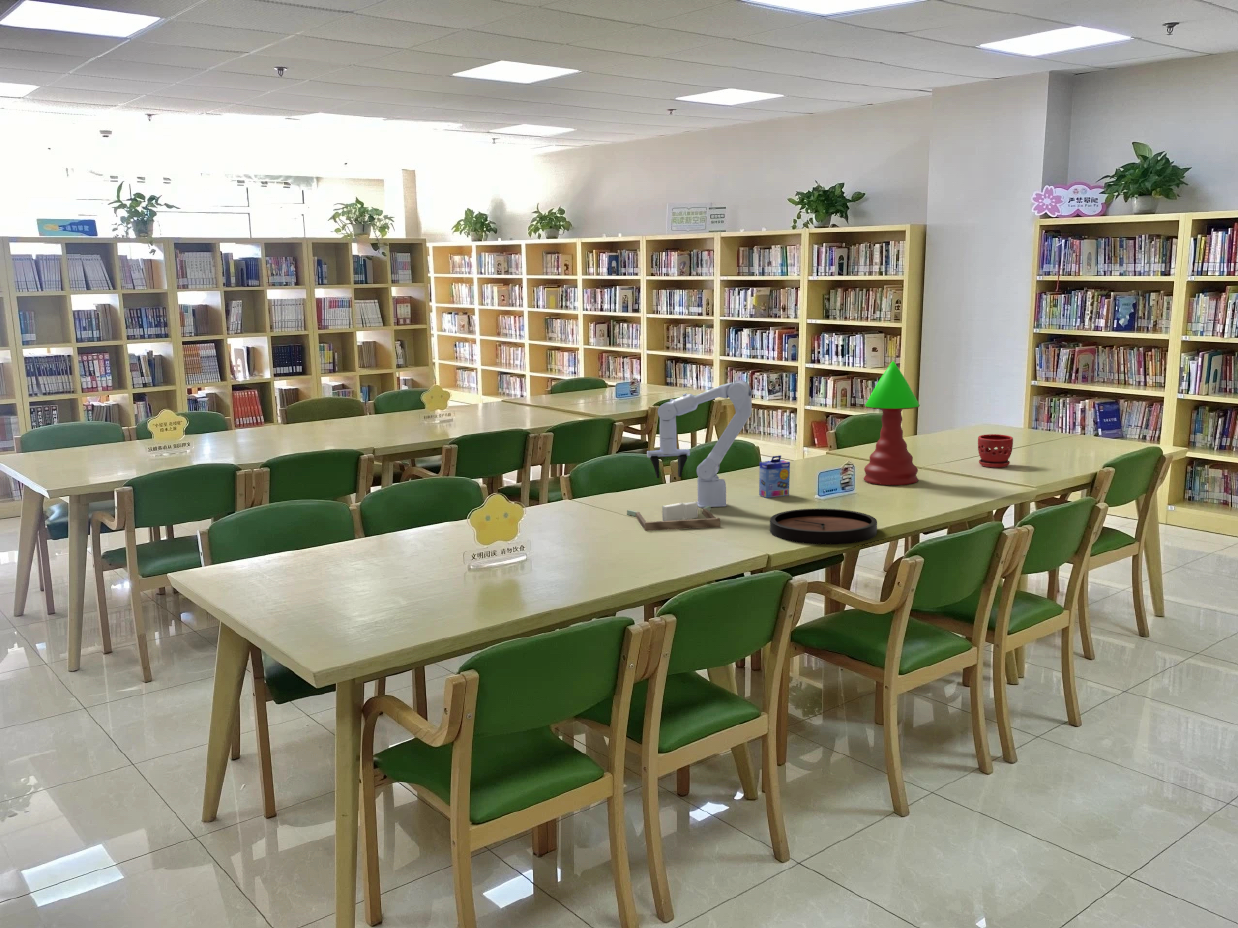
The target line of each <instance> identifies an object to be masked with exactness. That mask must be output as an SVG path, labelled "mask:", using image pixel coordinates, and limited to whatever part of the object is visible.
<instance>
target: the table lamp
mask: <svg viewBox="0 0 1238 928" xmlns="http://www.w3.org/2000/svg"><path fill="white" fill-rule="evenodd" d="M919 407H920V402H919V401H918V399H917V398H916V396H915V394H914V392H913V391H912V388H911V387H910V385H909V383H908V380H907V379H906V377H905V376H904V375H903V373H902V372H901V370H900V368H899V367H898V366H897V364H896V362H895V361H894V360H892V361H891V362H890V364H889V365H888V366H887V368H886V370H885V371H884V372H883V373H882V375H881V377H880V378H879V380H878V381H877V384H876V385H875V387H874V388H873V390H872V392H871V394H870V395H869V397H868V399H867V400H866V403H865V404H864V408H867V409H872V410H873V409H874V410H881V411H882V414H881V415H882V416H881V419H880V420H881V425H882V427H881V429H880V431H879V432H880V437H879V439H878V440H877V441H876V443H875V449H874V451H873V452H872V453H871V454H870V455H869V462H868V463H867V465H865V466H864V468H863V471H864V473H865V475H864V477H863V481H865V483H869V484H874V485H880V486H883V485H884V486H905V485H906V486H907V485H912V484H915V483H918V481H919V478H918V476H917V474H918V471H919V470H918V468H917V467H918V466H916V464H914V462H913V460H914V457H913V456H912V454H911V453H910V452H909V450H908V444H907V442H906V441H905V439H904V437H903V436H904V431H903V428H902V422H903V415H902V412H903V410H912V409H917V408H919Z"/></svg>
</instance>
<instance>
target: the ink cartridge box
mask: <svg viewBox="0 0 1238 928" xmlns="http://www.w3.org/2000/svg"><path fill="white" fill-rule="evenodd" d="M781 458H782V455H773V456H772V457H771V460H765V461H759V471H758V472H759V475H758V476H759V478H758V479H759V484H758V485H759V490H758V491H759V492H758V493H759V494H758V495H759V496H760V497H763V498H765V499H769V498H771V499H772V498H778V497H786V496H790V472H791V462H790V461H788V460H783V459H781Z"/></svg>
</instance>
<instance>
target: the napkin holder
mask: <svg viewBox="0 0 1238 928" xmlns="http://www.w3.org/2000/svg"><path fill="white" fill-rule="evenodd" d="M696 502H697V501H690V502H678V503H671V504H667V505H662V506H661V508H662V510H661V515H662V516H661V518H662V520H661V521H674V520H692V519H699V518H698V517H699V515H698V513H699V510H698V508H699V507H698V505H697V503H696Z"/></svg>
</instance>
